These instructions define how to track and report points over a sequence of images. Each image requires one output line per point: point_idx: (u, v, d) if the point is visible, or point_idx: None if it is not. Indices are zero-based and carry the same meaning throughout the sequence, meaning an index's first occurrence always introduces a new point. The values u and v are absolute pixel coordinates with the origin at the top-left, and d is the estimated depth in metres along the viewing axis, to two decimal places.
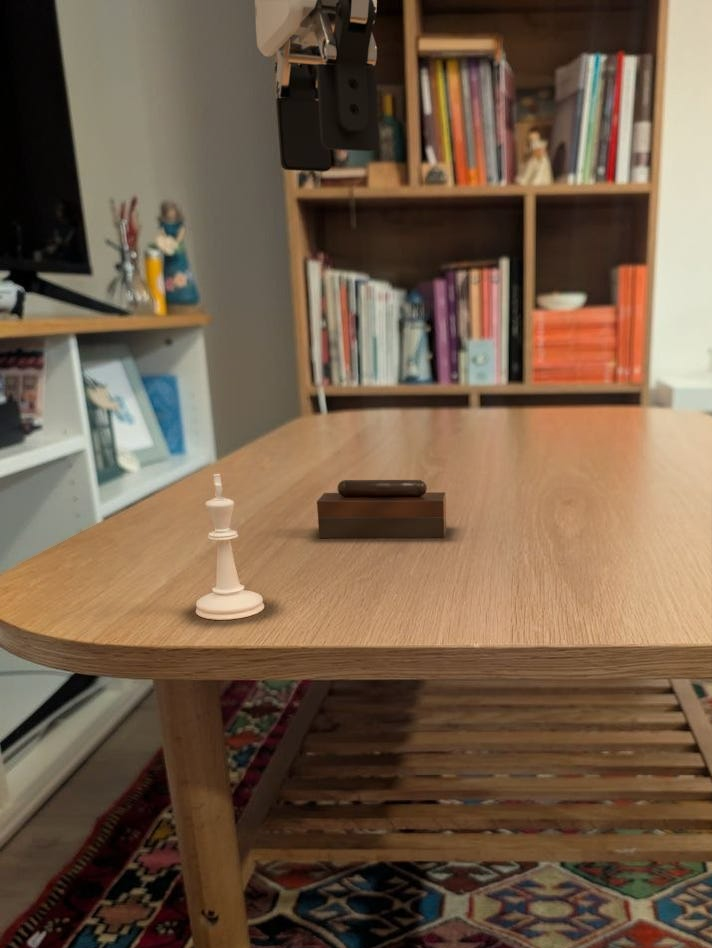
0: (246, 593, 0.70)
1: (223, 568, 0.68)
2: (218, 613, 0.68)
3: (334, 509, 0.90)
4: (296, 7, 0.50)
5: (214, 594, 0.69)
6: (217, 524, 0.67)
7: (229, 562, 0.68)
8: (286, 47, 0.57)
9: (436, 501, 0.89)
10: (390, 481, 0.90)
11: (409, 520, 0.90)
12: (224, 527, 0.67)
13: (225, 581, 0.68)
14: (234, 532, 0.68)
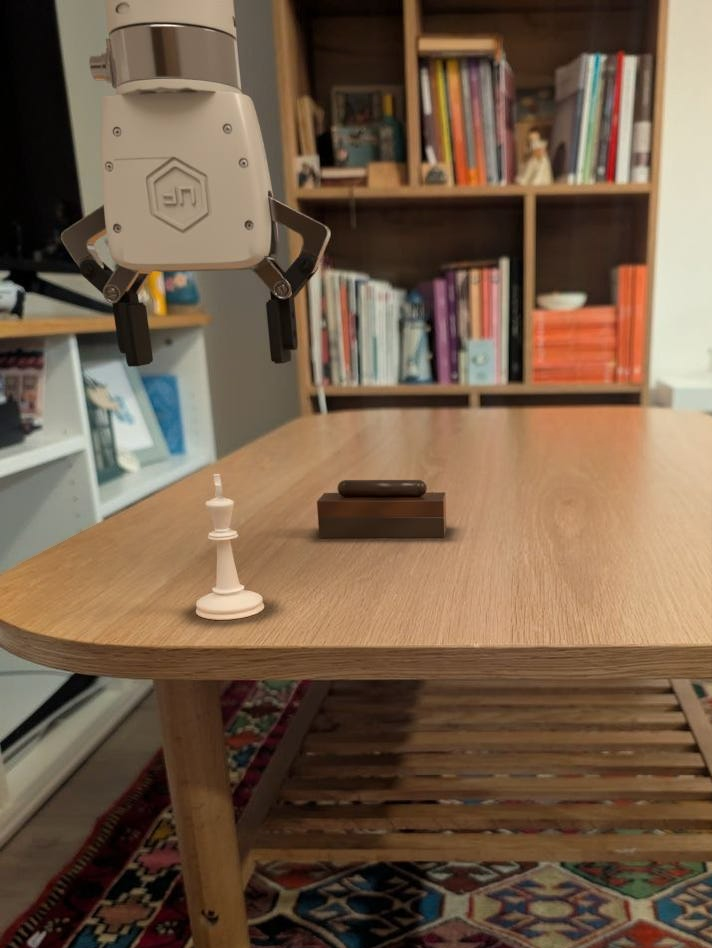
0: (246, 593, 0.70)
1: (223, 569, 0.68)
2: (218, 613, 0.68)
3: (334, 509, 0.90)
4: (260, 255, 0.59)
5: (214, 594, 0.69)
6: (217, 524, 0.67)
7: (229, 562, 0.68)
8: None
9: (436, 501, 0.89)
10: (390, 481, 0.90)
11: (409, 520, 0.90)
12: (224, 527, 0.67)
13: (225, 581, 0.68)
14: (234, 532, 0.68)
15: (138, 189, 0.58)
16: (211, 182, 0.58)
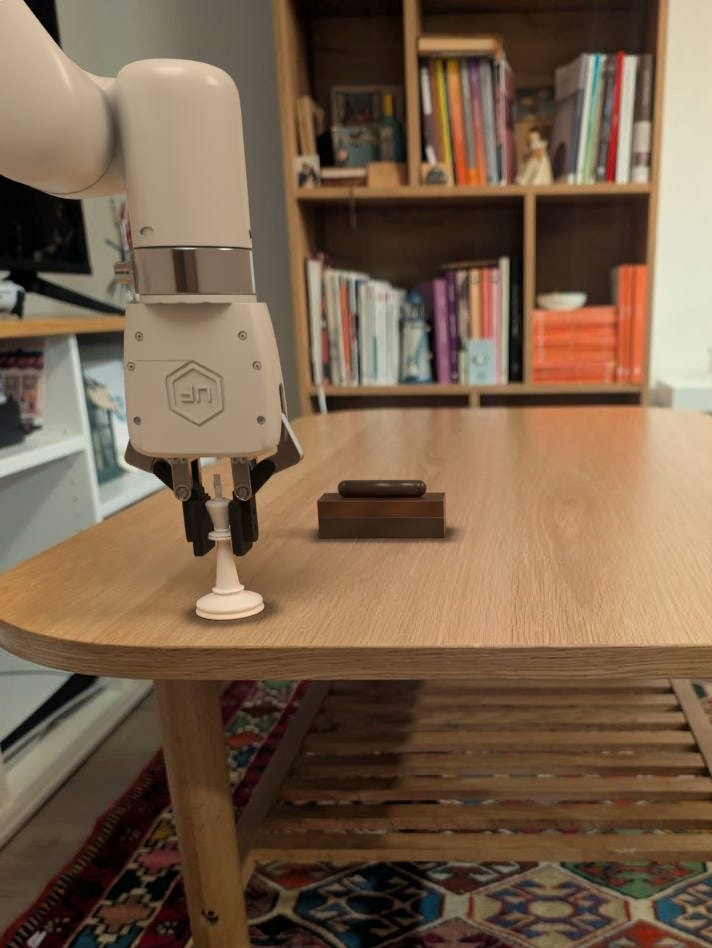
0: (246, 593, 0.70)
1: (223, 568, 0.68)
2: (218, 613, 0.68)
3: (334, 509, 0.90)
4: (271, 446, 0.63)
5: (214, 594, 0.69)
6: (217, 524, 0.67)
7: (229, 562, 0.68)
8: None
9: (436, 501, 0.89)
10: (390, 481, 0.90)
11: (409, 520, 0.90)
12: (224, 527, 0.67)
13: (225, 581, 0.68)
14: None
15: (158, 387, 0.62)
16: (226, 382, 0.62)
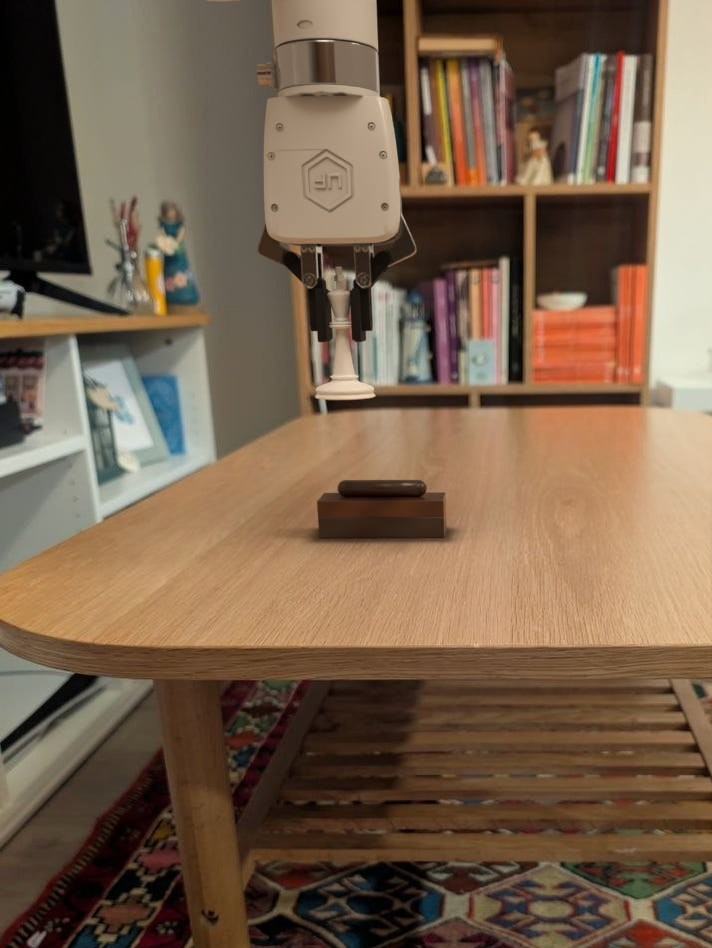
0: (360, 382, 0.77)
1: (342, 355, 0.76)
2: (338, 394, 0.75)
3: (334, 509, 0.90)
4: (392, 232, 0.71)
5: (332, 381, 0.77)
6: (338, 313, 0.75)
7: (346, 350, 0.76)
8: None
9: (436, 501, 0.89)
10: (390, 481, 0.90)
11: (409, 520, 0.90)
12: (343, 316, 0.75)
13: (343, 367, 0.76)
14: None
15: (294, 175, 0.70)
16: (355, 170, 0.69)
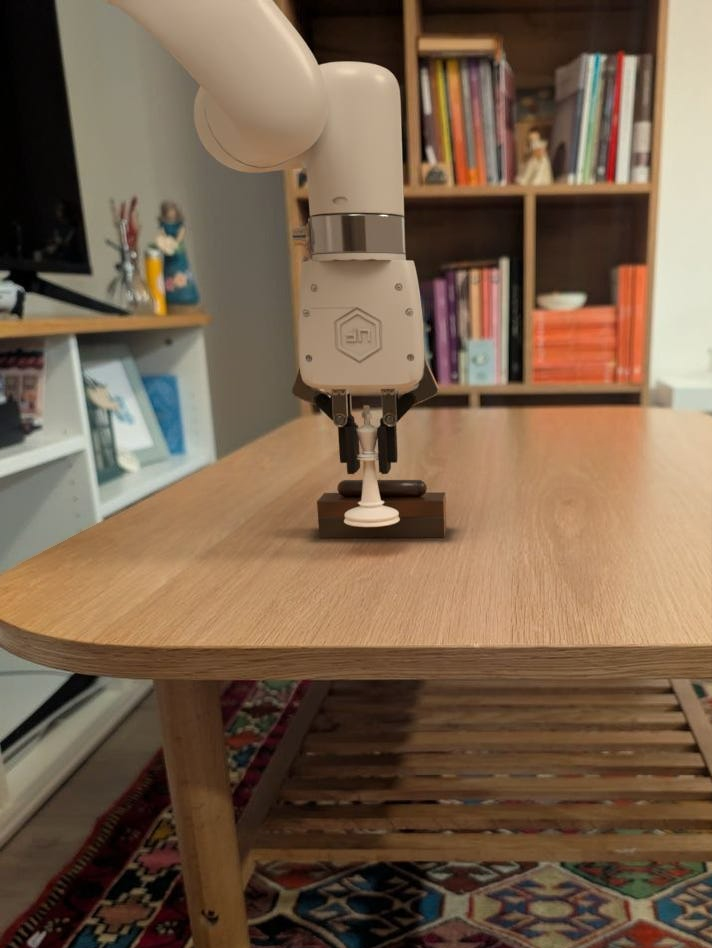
0: (385, 507, 0.84)
1: (369, 485, 0.82)
2: (366, 521, 0.81)
3: (334, 509, 0.90)
4: (417, 380, 0.77)
5: (360, 507, 0.83)
6: (366, 447, 0.81)
7: (373, 480, 0.82)
8: None
9: (436, 501, 0.89)
10: (390, 481, 0.90)
11: (409, 520, 0.90)
12: (371, 450, 0.81)
13: (370, 495, 0.82)
14: None
15: (327, 330, 0.76)
16: (384, 326, 0.76)
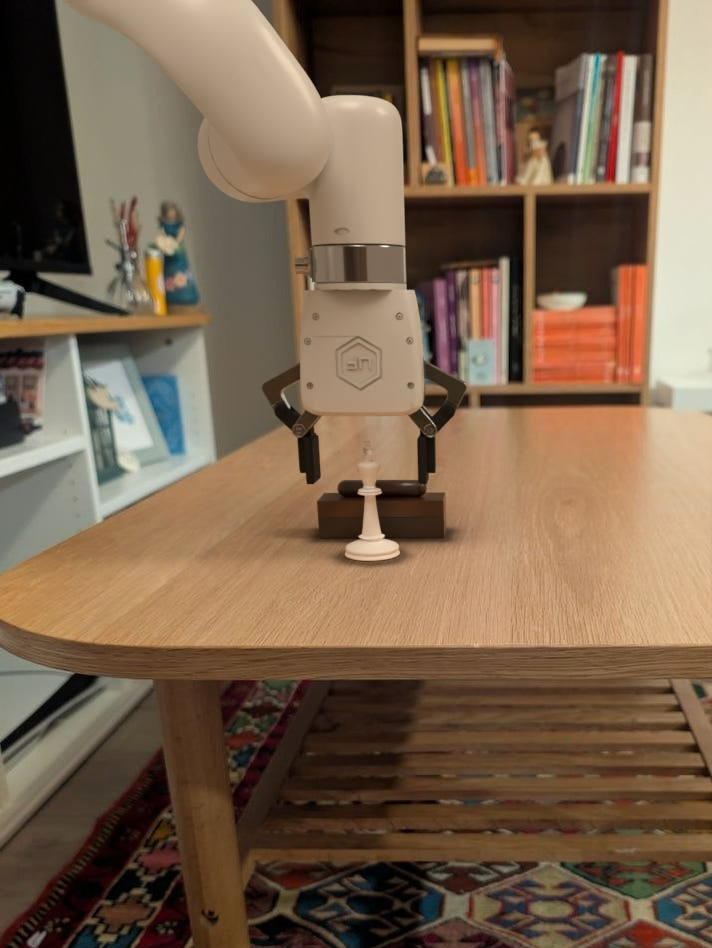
0: (386, 540, 0.85)
1: (370, 519, 0.83)
2: (366, 555, 0.82)
3: (334, 509, 0.90)
4: (417, 407, 0.78)
5: (361, 541, 0.84)
6: (367, 482, 0.82)
7: (374, 514, 0.83)
8: None
9: (436, 501, 0.89)
10: (390, 481, 0.90)
11: (409, 520, 0.90)
12: (372, 485, 0.82)
13: (371, 529, 0.83)
14: (379, 489, 0.83)
15: (328, 358, 0.76)
16: (384, 354, 0.76)
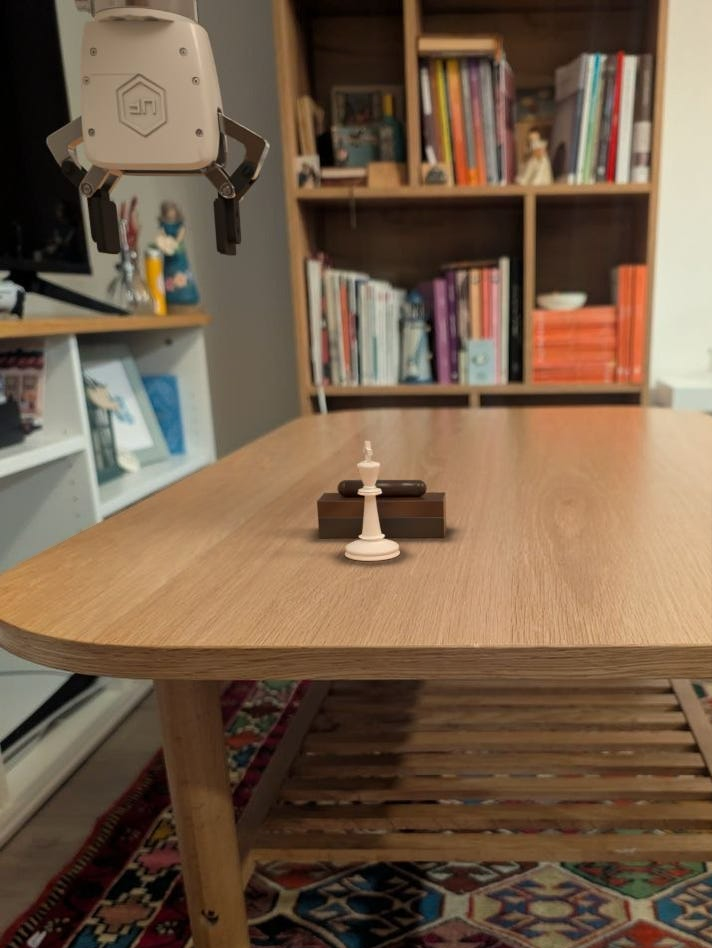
0: (386, 540, 0.84)
1: (370, 519, 0.83)
2: (366, 555, 0.82)
3: (334, 509, 0.90)
4: (208, 159, 0.72)
5: (361, 541, 0.84)
6: (367, 482, 0.82)
7: (374, 514, 0.83)
8: None
9: (436, 501, 0.89)
10: (390, 481, 0.90)
11: (409, 520, 0.90)
12: (372, 485, 0.82)
13: (371, 529, 0.83)
14: (379, 489, 0.83)
15: (109, 100, 0.71)
16: (169, 96, 0.70)
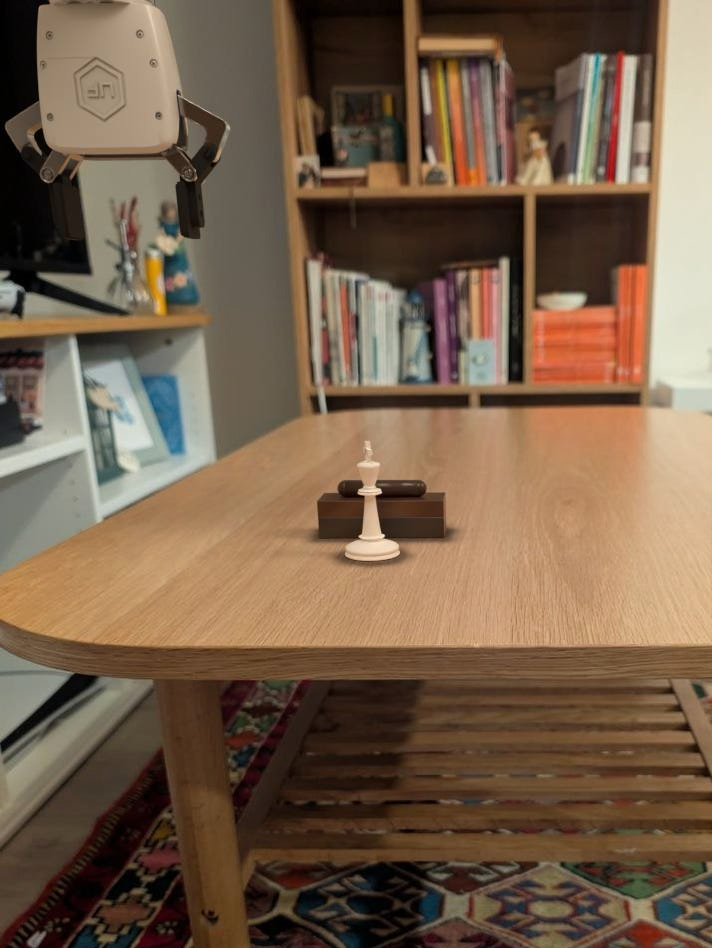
0: (386, 540, 0.84)
1: (370, 519, 0.83)
2: (366, 555, 0.82)
3: (334, 509, 0.90)
4: (169, 142, 0.72)
5: (361, 541, 0.84)
6: (367, 482, 0.82)
7: (374, 514, 0.83)
8: None
9: (436, 501, 0.89)
10: (390, 481, 0.90)
11: (409, 520, 0.90)
12: (372, 485, 0.82)
13: (371, 529, 0.83)
14: (379, 489, 0.83)
15: (67, 84, 0.70)
16: (127, 79, 0.70)
